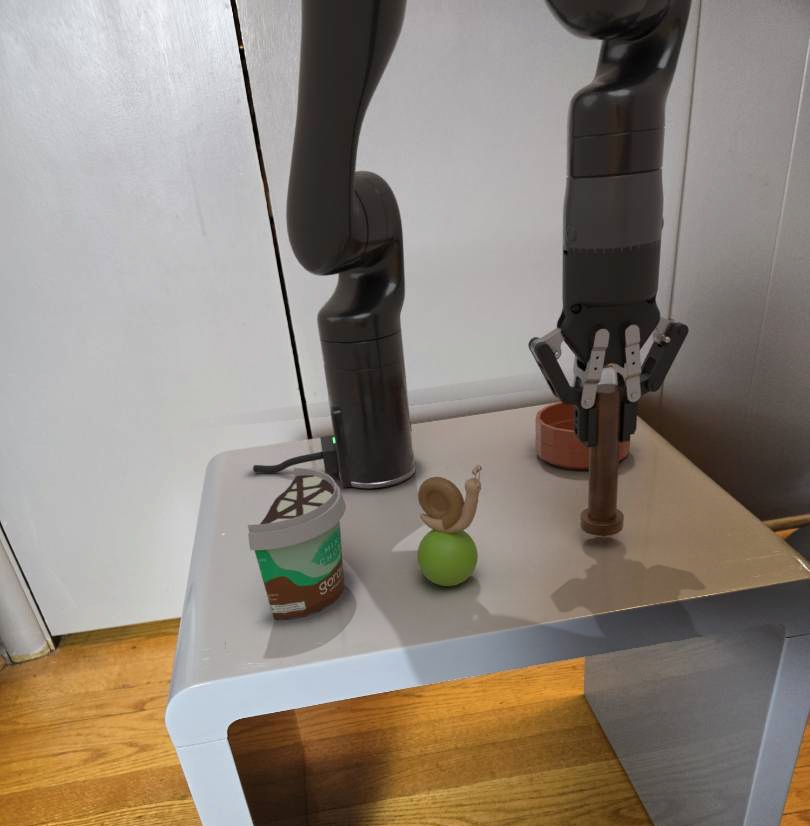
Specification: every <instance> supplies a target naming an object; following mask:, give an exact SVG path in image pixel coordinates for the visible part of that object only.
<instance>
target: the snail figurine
mask: <svg viewBox="0 0 810 826" xmlns="http://www.w3.org/2000/svg"><path fill="white" fill-rule="evenodd" d="M482 469H483V467H482V465H480V464H477V465H475V467H474V468H472V469H471V474H472V475H474V477H469V478H468V479H466V481H465V482H464V490H465V497H463V494H462V492H461V490H460V489H459V488H458V486H457V485H456V484H455V483H454V482H452V481H451V480H449V479H447V478H446V477H442V476H432V477H429V478H426V479H425V480H424V481H422V483H421V484H420V486H419V487H418V492H417V499H418V503H419V505H420V507H421V509H422V511H423V512H424V513H420V514H419V517H420V519H421V521H422V522H423V523H424V525H426V526H427V527H428V528H429V529H430V531H429V532H427V533H426V534H425V535H424V536H423V538H422V539H421V541H420V542H419V545H418V547H417V552H416V554H417V555H416V558H417V564H418V567H419V569H420V572H421V573H422V574H423V576H424V577H425V578H426V579H427V580H429V581H430V582H432V583H433V584H436V585H438V586H442V587H453V586H457V585H460V584H462V583H463V582H465V581H466V580H468V579H469V578H470V577H471V575H472V574H473V573H474V571H475V569H476V567H477V564H478V557H479V555H478V549H477V545H476V543H475V541H474V539H473V538H472V537H471V535H470V534H469V533H467V532H466V531H465V530H467V529H468V528H469V527H470V526H471V524H472V523H473V521H474V519H475V516H476V514H477V510H478V509H477V508H478V504H479V495H480V492H481V490H482V483H481V481H480V477H481V476H480V475H481V474H480V473H481V471H482ZM477 474H478V478H477Z"/></svg>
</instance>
